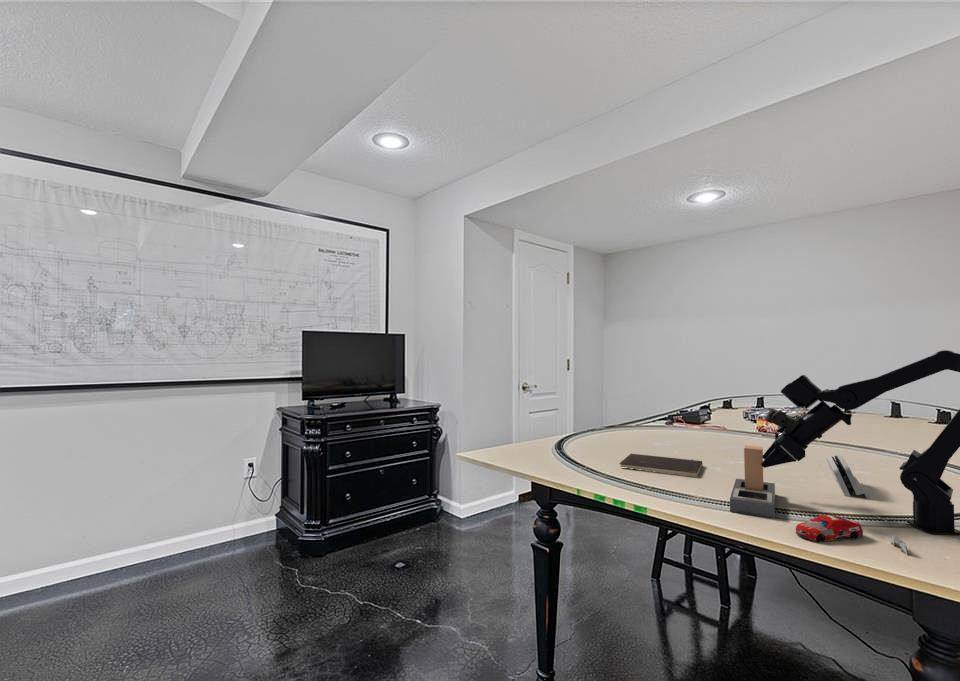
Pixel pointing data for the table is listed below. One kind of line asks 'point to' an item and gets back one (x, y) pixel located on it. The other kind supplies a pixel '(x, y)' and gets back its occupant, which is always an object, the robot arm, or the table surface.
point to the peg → (753, 467)
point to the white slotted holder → (845, 476)
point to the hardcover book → (662, 464)
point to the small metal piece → (899, 544)
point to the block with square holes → (753, 499)
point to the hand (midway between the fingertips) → (762, 462)
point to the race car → (829, 529)
